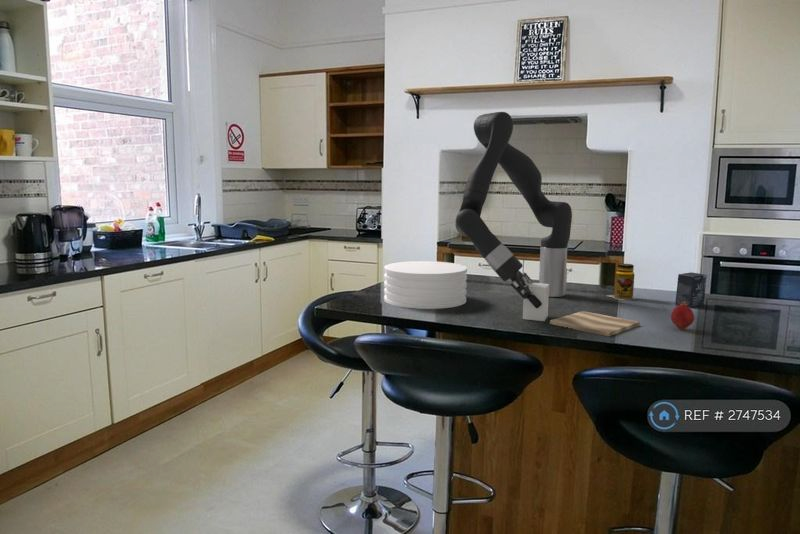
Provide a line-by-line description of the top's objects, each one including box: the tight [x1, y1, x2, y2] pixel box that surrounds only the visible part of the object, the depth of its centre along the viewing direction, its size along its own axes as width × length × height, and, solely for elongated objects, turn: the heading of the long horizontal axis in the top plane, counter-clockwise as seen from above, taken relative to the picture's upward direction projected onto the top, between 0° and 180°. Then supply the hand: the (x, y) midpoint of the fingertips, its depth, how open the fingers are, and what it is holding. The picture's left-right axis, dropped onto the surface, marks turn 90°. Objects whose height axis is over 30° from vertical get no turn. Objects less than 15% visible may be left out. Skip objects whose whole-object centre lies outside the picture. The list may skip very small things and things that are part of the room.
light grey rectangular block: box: [522, 282, 550, 322], centre depth 174 cm, size 6×6×10 cm
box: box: [675, 271, 708, 309], centre depth 193 cm, size 8×6×11 cm
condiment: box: [606, 263, 639, 301], centre depth 205 cm, size 7×8×12 cm
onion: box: [670, 302, 695, 331], centre depth 162 cm, size 6×6×8 cm
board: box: [549, 310, 641, 337], centre depth 167 cm, size 18×18×1 cm
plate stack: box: [383, 260, 468, 310], centre depth 198 cm, size 28×28×12 cm
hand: (541, 304), depth 173 cm, fingers closed on light grey rectangular block, 6 cm apart
